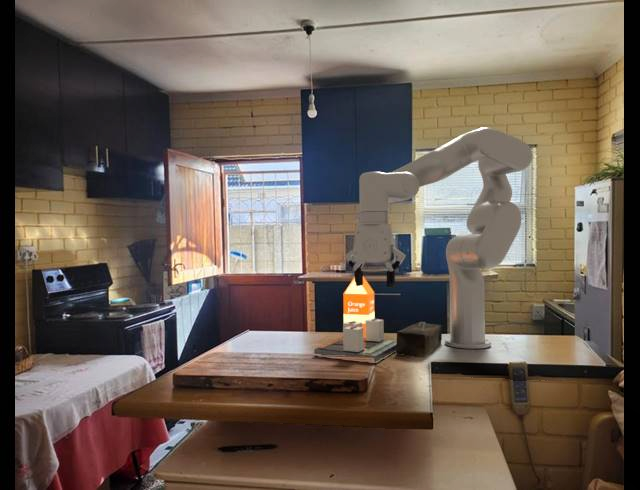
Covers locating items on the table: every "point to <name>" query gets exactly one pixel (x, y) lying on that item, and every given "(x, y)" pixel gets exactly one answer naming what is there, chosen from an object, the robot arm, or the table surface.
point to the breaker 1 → (353, 338)
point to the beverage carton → (419, 339)
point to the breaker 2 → (374, 330)
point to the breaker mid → (352, 324)
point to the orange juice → (359, 303)
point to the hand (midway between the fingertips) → (374, 285)
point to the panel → (370, 350)
